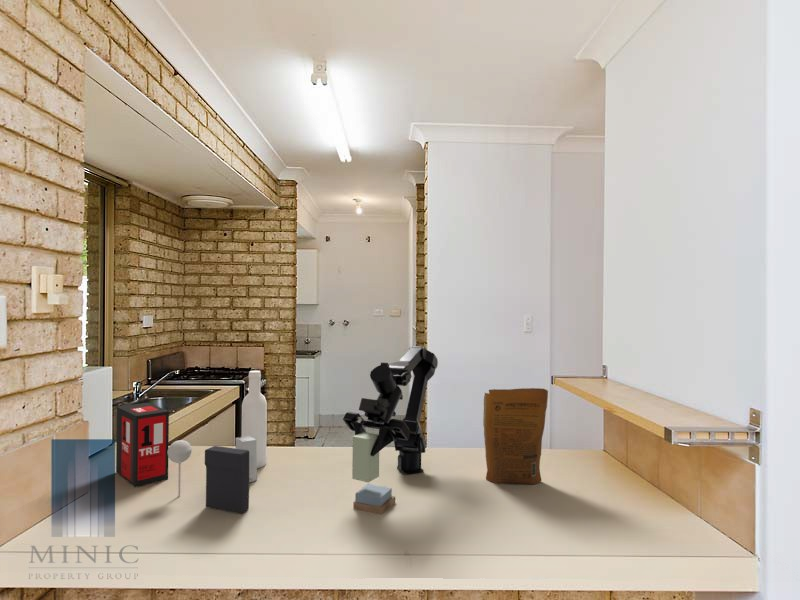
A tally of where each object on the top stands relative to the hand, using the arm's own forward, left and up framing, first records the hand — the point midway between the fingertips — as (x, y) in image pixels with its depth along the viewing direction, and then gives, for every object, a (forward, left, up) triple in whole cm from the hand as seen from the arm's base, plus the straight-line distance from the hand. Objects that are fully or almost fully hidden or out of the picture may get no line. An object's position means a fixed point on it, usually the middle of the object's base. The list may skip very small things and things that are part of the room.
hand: (363, 453), depth 127 cm
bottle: (+21, -43, -14) cm, 50 cm away
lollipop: (+43, -25, -14) cm, 52 cm away
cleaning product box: (+53, -46, -14) cm, 71 cm away
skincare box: (+25, -31, -14) cm, 42 cm away
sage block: (-1, -1, -7) cm, 7 cm away
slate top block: (-3, +1, -12) cm, 12 cm away
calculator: (+32, -12, -14) cm, 37 cm away
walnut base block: (-3, +1, -14) cm, 14 cm away
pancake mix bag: (-47, +2, -14) cm, 49 cm away
